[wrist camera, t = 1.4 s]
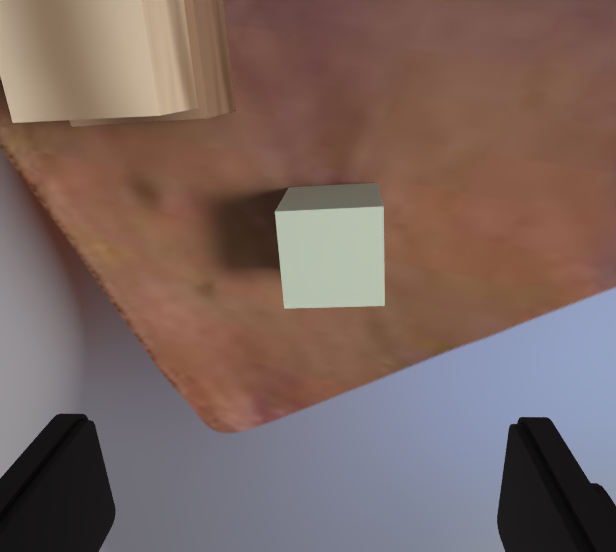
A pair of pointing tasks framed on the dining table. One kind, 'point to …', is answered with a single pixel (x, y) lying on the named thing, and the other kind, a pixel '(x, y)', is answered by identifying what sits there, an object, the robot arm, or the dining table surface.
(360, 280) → the sage block
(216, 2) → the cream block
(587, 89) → the dining table surface
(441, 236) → the dining table surface
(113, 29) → the beech block
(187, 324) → the dining table surface
